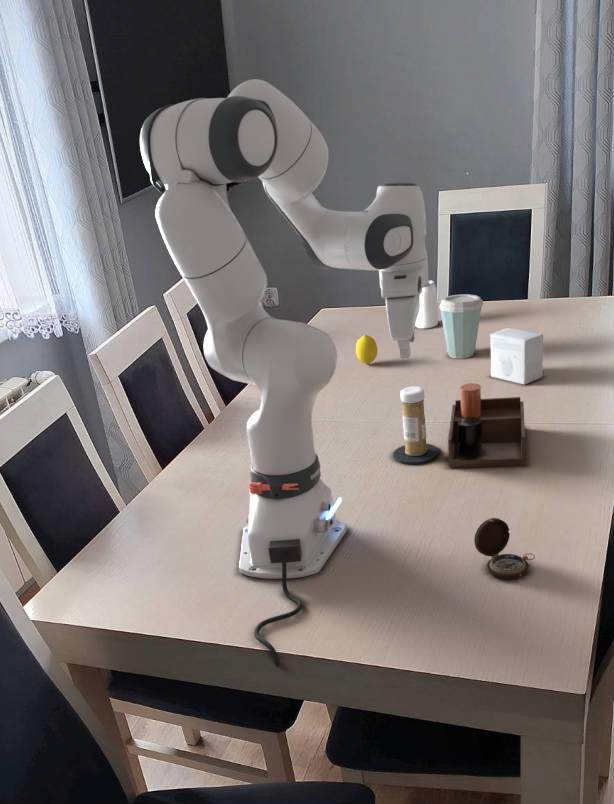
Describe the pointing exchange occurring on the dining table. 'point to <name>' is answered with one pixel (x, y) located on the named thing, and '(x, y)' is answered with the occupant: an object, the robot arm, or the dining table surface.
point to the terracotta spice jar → (470, 400)
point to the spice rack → (492, 430)
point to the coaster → (406, 459)
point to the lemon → (366, 349)
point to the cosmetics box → (516, 355)
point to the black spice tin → (470, 437)
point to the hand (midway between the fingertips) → (407, 349)
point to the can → (428, 307)
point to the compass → (499, 550)
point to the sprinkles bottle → (414, 420)
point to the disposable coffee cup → (461, 323)
